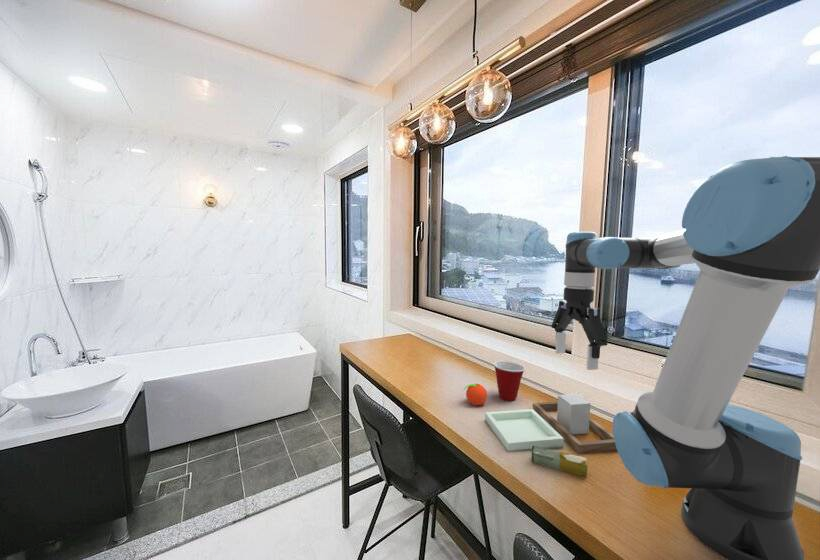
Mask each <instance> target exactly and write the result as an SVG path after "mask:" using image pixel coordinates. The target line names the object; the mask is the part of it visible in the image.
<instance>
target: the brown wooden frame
mask: <svg viewBox="0 0 820 560" xmlns="http://www.w3.org/2000/svg"><path fill="white" fill-rule="evenodd" d="M557 408H558V400H555V401H543V402H542V401H541V402H533V403H532V409H533V410H534V411H535V412H536V413H537V414H539V415H540V416H541V417H542V418H543V419H544V420H545V421H546V422H547V423H548V424H549V425H550V426H551V427H552V428H553V429H554V430H555V431H557V432H558V433H559V434H560V435H561V436H562V437H563V438H564V442H566V443H568V445H569V446H570V447H572V448H573V449H574V450H575V451H576V452H577V453H578V454H582V453H583V454H584V453H585V454H586V453H597V452H598V453H599V452H613V451H614V452H615V451H617V448H616V444H615V441H614V437H613V432H611V431H609V430H608V429H606V428H605V427H604V426H602V425H601V424H600V423H598V422H597V421H596V420H594V419H593V418H592V417H590V420H589V430H590V431H592V432H593V433H595V434H596V435H598V437H600V438H601V440H600V439H599V440H589V441H580V440H579V439H578V438H576V437H575V436H574V434H571V433H570V432H568V431H567V430H566V429H565V428H564V427H563V426H562V425H561V424H559V423H558V422H557V419H555V418H554V417H553V416H552V415H551V414H550V413H548V412H556V411H557ZM617 452H618V451H617Z"/></svg>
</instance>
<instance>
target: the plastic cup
mask: <svg viewBox="0 0 820 560" xmlns="http://www.w3.org/2000/svg"><path fill="white" fill-rule="evenodd" d="M493 367H494V371H495V376H496V383H497V385H496V386H497V389H498V397H499V398H500V399H501V400H503V401H506V402H514V401H516V400H517V398H518V393H519V389H520V386H521V380H522V378H523V374H524V372H525V371H526V367H525V366H524V365H523V364H520V363H516V362H513V361H505V360H497V361H493Z"/></svg>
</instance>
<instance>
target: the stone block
mask: <svg viewBox="0 0 820 560" xmlns="http://www.w3.org/2000/svg"><path fill="white" fill-rule="evenodd" d="M557 401H558V408H557V412H556V413H557V414H556V421H557V422H558V423H559V424H561V425H562V426H563V427H564V428H565V429H566V430H567V431H568V432H570V433H571V434H572V435H585V434H590V433H589V432H590V428H589V420H590V418H591V404H592V403H591V402H589V401H588V400H587V399H585V398H583V397H582V396H581V395H579V394H577V393H567V394H558V395H557Z"/></svg>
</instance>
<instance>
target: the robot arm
mask: <svg viewBox="0 0 820 560" xmlns="http://www.w3.org/2000/svg"><path fill="white" fill-rule="evenodd" d="M681 219H682V220H681V228H682V229H680V230H677V231H673V232H669V233H666V234H661V235H659V236H658V235H657V236H654V237H614V236H601V237H598V235H597V232H595V231H576V232H575V231H574V232H573V231H572V232H568V234H567V236H566V242H565V263H564V264H565V266H564V280H563V285H564V286H565V287H564V289H563V300H559V302H558V307H557V311H556V312H555V316H554V318H553V320H552V324H551V329H554V332H555V354H556V355H557V354H559V355H560V354H565V353H566V345H567V344H566V342H567V332H566V329H567V328H568V326H569V325H570V323H572V321H573V320H574V321H576V322H578V323H579V324H581V326H582V329H583V331H584V333H585V335H586V338H587V339H588V342H589V344H588V345H587V353H586V370H588V371H595V370H598V369H599V359H600V357H601V356H600V354H601V347H603V346H604V347H606V346H608V341H607V337H606V333H605V330H604V327H603V324H602V323H603V322H602V320H601V310H600V308H599V307H591V303H593V302H594V300H595V299H594V297H595V290H594V287H595V281H596V280H595V277H596V268H597V269H601V270H612V269H613V270H614V269H652V270H653V269H654V270H655V269H656V270H657V269H658V270H669V269H676V268H681V265H682V266H683V265H690V264H695V265H696V266H697V267H698V268H699V273H698V276H697V279H696V281H695V283H694V286H693V288H692V292H691V294H690V297H689V299H688V301H687V304H686V306H685V309H684V312H683V314H682V317H681V319H680V322H679V325H678V327H677V330H676V332H675V333H674V334H675V335H674V337H673V340H672V342H671V345H670V347H669V350H668V353H667V355H666V358H665V360H664V363H663V365H662V369H661V370H660V373H659V376H658V378H657V381H656V384H655V386H654V389H653V391H649V392H645V393H643V394H642V395H640V396H639V397H638V399H637V402H636V403H635V404H636V405H635V407H634V410H633V411H631V412H629V411H628V410H626V411H622V412H621V411H620V412H618V413H616V414H615V415H614V417H613V419H612V425H611V426H612V427H611V428H612V434H613V437H614V441H615V444H616V448H617V453H618V456H619V458H620V460H621V462H622V463H623V465H624V466H625V468H626V470H627V471H628V473H629V474H630V475H631V476H632V477H633V478H634V480H637V482H639V483H641V484H643V485H645V486H648V487H649V486H650V487H659V488H661V489H669V488H671V489H689V491H688V492H687V493H686V495H685V496H684V498H683V500H682V503H681V504H682V506H681V518H682V521H683V522H684V524H685V526H686V527H687V529H688V530H689V531H690V532H691V533H692V534H693V535H694V537H696V538H697V539H698V540H699V541H700V542H702V543H703V544H704V545H706V547H708V548H709V549H711V550H712V551H714V552H715V553H717V554H718V555H720V556H721V557H723V558H724V559H727V560H805V553H804V550H803V548H802V544H801V542H800V538H799V535H798V532H797V528H796V526H795V522H794V520H793V515H794V513H793V512H794V506H795V500H796V493H797V487H798V480H799V472H800V465H801V461H802V460H803V457H802V455H801V454H802V453H801V451H802V442H801V439H800V438H801V437H800V436H799V435H798V433H797V432H796V431H794V430H793V429H792V428H791V427H789V426H788V425H786V424H784V423H783V422H780V421H779V420H776V419H774V418H772V417H769V416H767V415H766V414H764V413H763V414H762V413H760V412H757V411H755V410H752V409H748V408H746V407H742V406H738V405H734V404H731V403H730V402H731V399H732V398H733V395H734V393H735V392H736V389H737V388H738V386H739V383H740V382H741V380H742V379H743V377H744V375H745V372H746V370H747V368H748V367H749V365H750V363H751V361H752V359H753V357H754V355H755V353H756V351H757V349H758V348H759V346H760V344H761V342H762V341H763V338H764V336H765V335H766V332H768V331H767V330H768V329H769V327H770V325H771V323H772V321H773V319H774V317H775V316H776V313H777V312H778V309H779V308H780V307H781V304H782V302H783V300H784V298H785V296H786V295H787V292H788V290H789V289H791V288H795V287H797V286H798V287H799V286H801V285H805V284H809V283H811V282H813V281H814V280H815V279H816V277H817V276H818V273H819V272H820V156H788V155H783V156H770V157H764V158H750V159H745V160H741V161H740V160H739V161H736V162H733V163H730V164H728V165H726V166H724V167H721V168H720V169H718V170H717V171H716V172H715V173H714V174H711V175H710V176H708V177H707V178H706V179H704V180H703V181H702V182H701V183H700V184H699V186H697V188H696V189H695V190H694V191H693V193H692V194H691V195H690V197H689V199H688V201H687V203H686V206H685V207H684V210H683V213H682V218H681Z"/></svg>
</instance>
